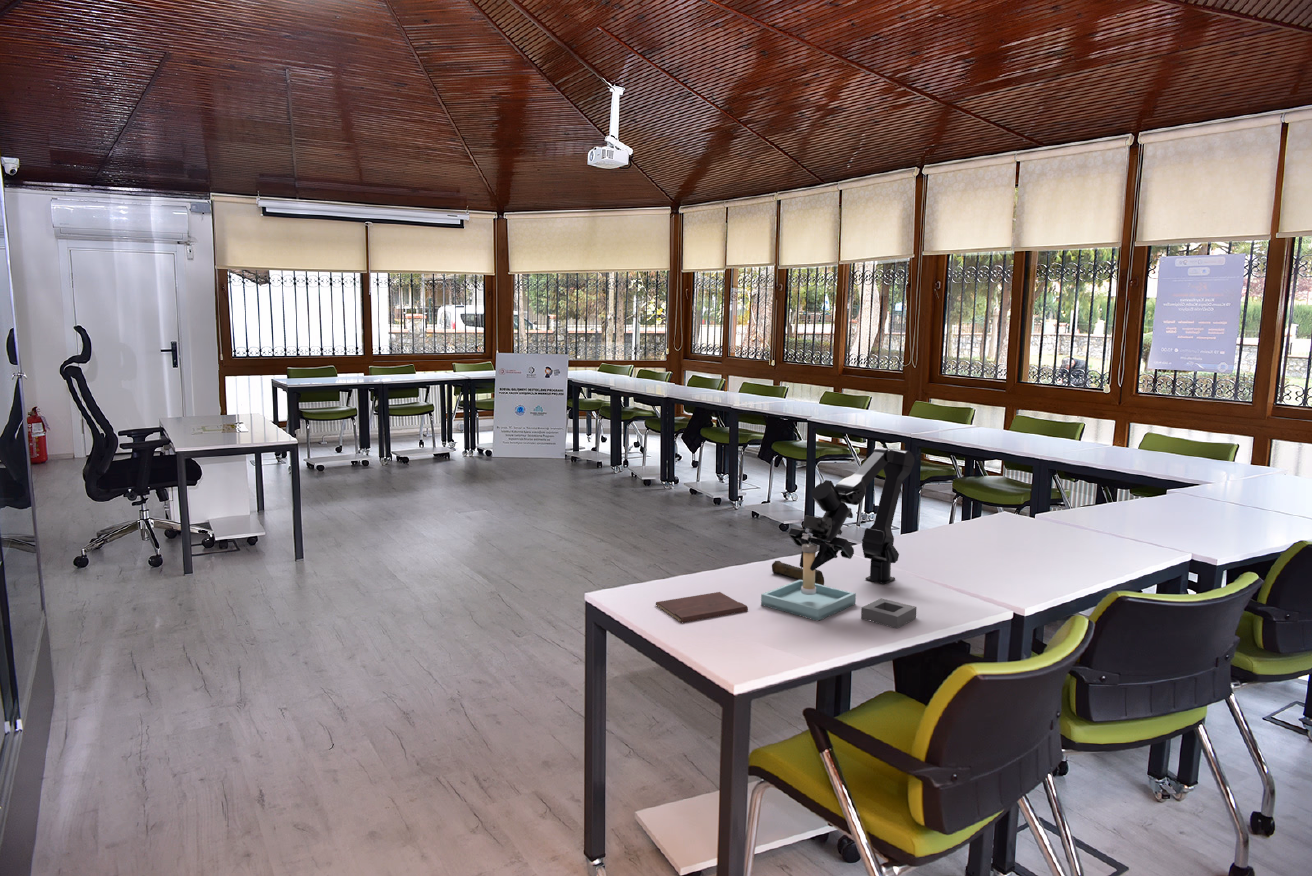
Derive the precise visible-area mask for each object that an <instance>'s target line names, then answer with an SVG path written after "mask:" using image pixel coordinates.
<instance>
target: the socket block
mask: <svg viewBox="0 0 1312 876" xmlns="http://www.w3.org/2000/svg"><path fill="white" fill-rule="evenodd" d="M917 609H918V608H917V606H914V605H911V604H906V603H902V602H899V601H893V600H890V599H886V598H881V597H880V598H878V599H877V600H874V601H872V602H869V603H868V604H866V605H864V606H862V607H861V612H860V614H861V615H860V619H861V620H865V621H868V620H871V621H874V622H873V623H875V622H877V623H876V624H879V623H880V624H879V625H883V626H886V625H888V626H887V627H890V626H891V628H894V627H895V629H898V627H899V628H901V627H903V626H904V625H907V623H910V622H912V621H913V620H915V619H917ZM871 621H870V622H871ZM900 626H901V627H900Z"/></svg>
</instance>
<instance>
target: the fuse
mask: <svg viewBox="0 0 1312 876" xmlns="http://www.w3.org/2000/svg"><path fill="white" fill-rule="evenodd" d="M802 552H803V568H802V569H803V586H801V593H802V594H805V595H814V594H816V587H815V570H813V571H811V569H810V567H811V565H812V563H813V561H814V559H815V557H816V555H817V554H816V553H818V545H816V544H803V545H802V547H801V553H802Z"/></svg>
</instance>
